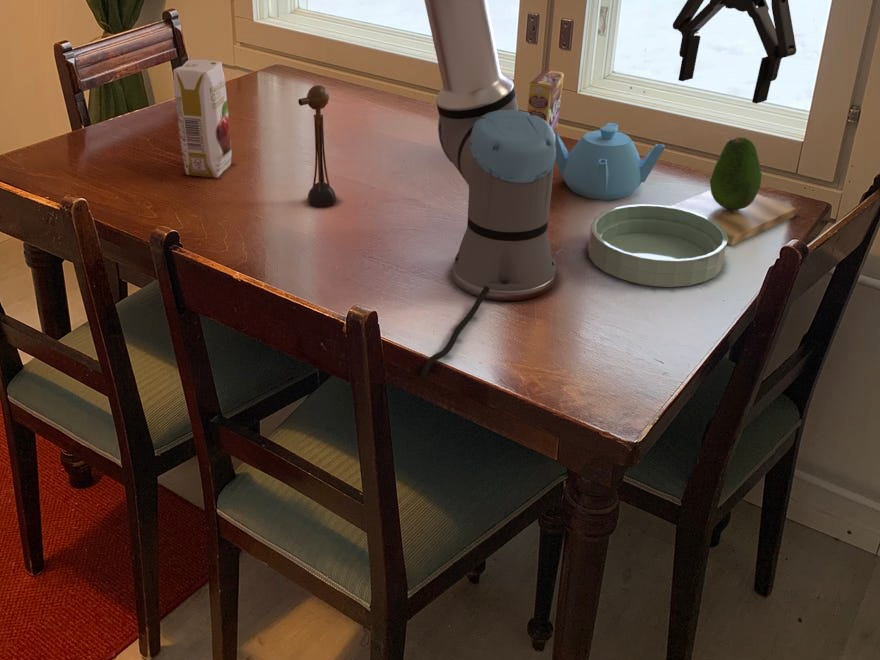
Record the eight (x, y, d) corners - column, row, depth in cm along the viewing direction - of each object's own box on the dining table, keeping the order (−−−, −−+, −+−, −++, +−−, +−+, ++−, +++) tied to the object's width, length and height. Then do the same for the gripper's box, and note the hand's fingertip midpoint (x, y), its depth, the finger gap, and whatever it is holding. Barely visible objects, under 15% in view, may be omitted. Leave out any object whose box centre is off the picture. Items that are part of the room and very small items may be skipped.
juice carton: (180, 176, 182) (167, 70, 171) (199, 159, 189) (187, 56, 178) (219, 180, 181) (208, 73, 170) (236, 163, 188) (227, 59, 177)
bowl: (665, 302, 144) (670, 274, 142) (561, 253, 157) (563, 226, 155) (748, 262, 155) (754, 235, 153) (644, 219, 168) (648, 194, 165)
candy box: (543, 167, 187) (551, 85, 178) (521, 164, 188) (527, 82, 179) (556, 152, 194) (564, 71, 185) (535, 148, 195) (542, 68, 186)
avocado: (713, 195, 173) (727, 127, 166) (759, 205, 169) (775, 135, 162) (699, 211, 167) (712, 141, 160) (746, 222, 164) (762, 150, 157)
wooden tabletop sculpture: (313, 211, 170) (307, 93, 158) (297, 202, 173) (291, 85, 161) (341, 202, 173) (337, 86, 161) (325, 194, 176) (321, 79, 164)
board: (731, 245, 160) (733, 237, 159) (660, 217, 169) (662, 209, 168) (794, 216, 169) (796, 208, 169) (724, 191, 178) (726, 183, 177)
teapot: (663, 194, 177) (673, 134, 171) (596, 210, 171) (604, 149, 165) (607, 166, 188) (614, 108, 182) (542, 180, 182) (547, 122, 175)
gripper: (846, -48, 137) (806, 106, 150) (696, -75, 153) (671, 67, 165) (816, -43, 133) (778, 116, 145) (665, -71, 149) (642, 74, 161)
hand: (721, 90), depth 155 cm, fingers open, 13 cm apart
